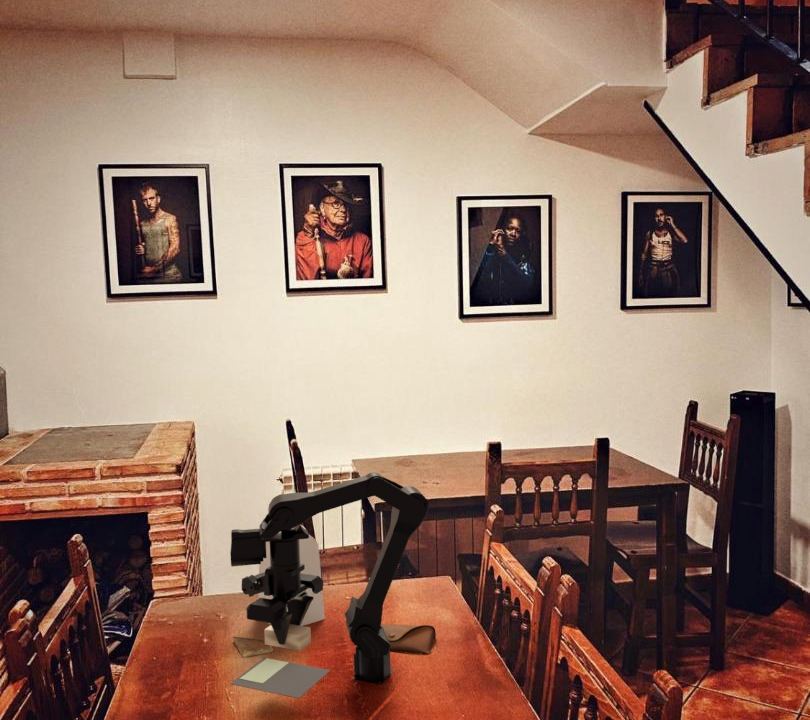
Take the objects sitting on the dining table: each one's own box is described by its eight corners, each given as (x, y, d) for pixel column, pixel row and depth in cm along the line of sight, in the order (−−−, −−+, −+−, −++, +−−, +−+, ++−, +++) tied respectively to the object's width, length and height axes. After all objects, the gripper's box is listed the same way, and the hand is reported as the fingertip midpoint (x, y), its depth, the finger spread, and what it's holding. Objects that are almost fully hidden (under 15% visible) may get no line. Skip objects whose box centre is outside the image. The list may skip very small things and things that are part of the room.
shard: (233, 642, 172) (232, 635, 172) (266, 636, 175) (266, 628, 175) (242, 663, 162) (241, 654, 162) (277, 655, 165) (277, 647, 165)
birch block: (310, 642, 150) (310, 627, 150) (300, 650, 146) (299, 635, 146) (276, 636, 153) (275, 621, 153) (264, 644, 149) (264, 629, 149)
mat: (330, 673, 156) (330, 669, 156) (299, 701, 145) (299, 697, 145) (264, 660, 162) (264, 657, 162) (229, 686, 151) (229, 682, 151)
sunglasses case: (349, 651, 165) (351, 619, 168) (355, 655, 171) (357, 623, 174) (432, 654, 163) (433, 621, 166) (435, 658, 169) (436, 626, 172)
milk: (258, 616, 186) (254, 511, 184) (300, 604, 193) (296, 502, 191) (281, 632, 176) (277, 521, 175) (324, 619, 183) (320, 512, 182)
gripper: (276, 543, 160) (279, 616, 161) (221, 572, 143) (224, 653, 144) (323, 548, 156) (325, 623, 157) (271, 579, 139) (274, 662, 140)
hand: (287, 639), depth 150 cm, fingers closed on birch block, 4 cm apart
